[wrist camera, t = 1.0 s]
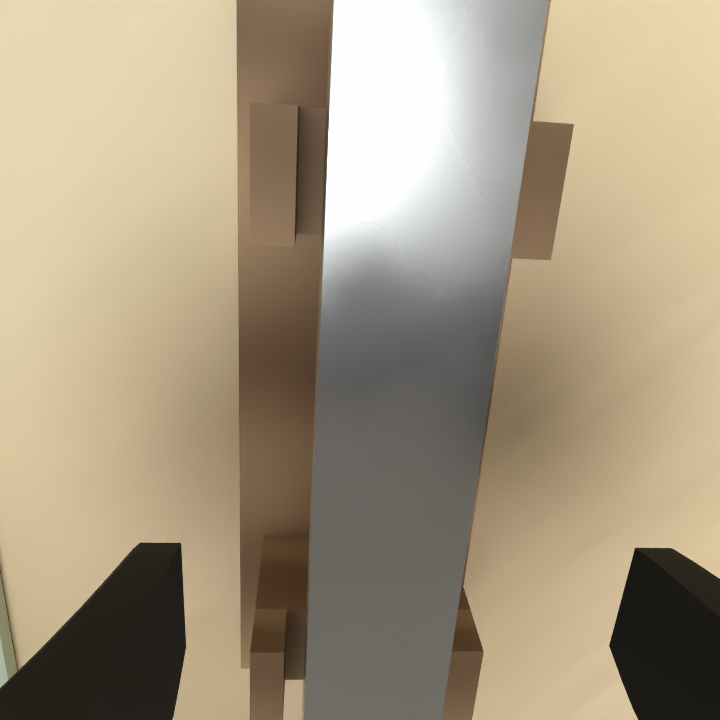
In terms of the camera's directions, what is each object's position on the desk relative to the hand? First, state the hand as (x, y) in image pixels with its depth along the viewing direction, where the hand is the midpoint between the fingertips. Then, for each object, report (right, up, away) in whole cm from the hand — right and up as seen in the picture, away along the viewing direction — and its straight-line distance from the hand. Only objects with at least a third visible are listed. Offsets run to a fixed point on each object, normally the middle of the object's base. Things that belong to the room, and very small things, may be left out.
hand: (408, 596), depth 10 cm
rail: (0, +2, +5) cm, 5 cm away
